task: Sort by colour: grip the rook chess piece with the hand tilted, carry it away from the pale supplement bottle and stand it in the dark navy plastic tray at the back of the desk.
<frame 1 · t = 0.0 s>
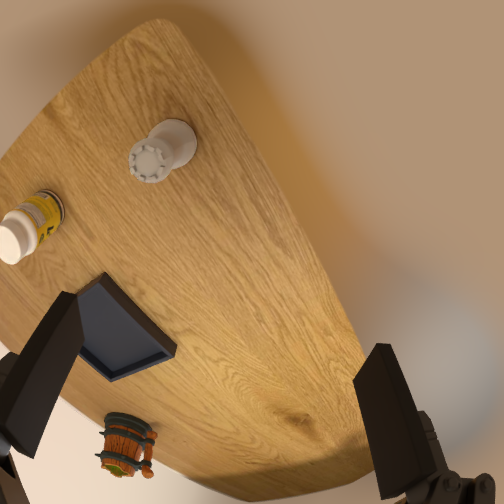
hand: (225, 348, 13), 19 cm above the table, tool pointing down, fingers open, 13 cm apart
rook chess piece: (173, 142, 27), on the table
dark tray: (109, 329, 38), on the table
supplement bottle: (49, 208, 29), on the table
mug: (134, 424, 50), on the table
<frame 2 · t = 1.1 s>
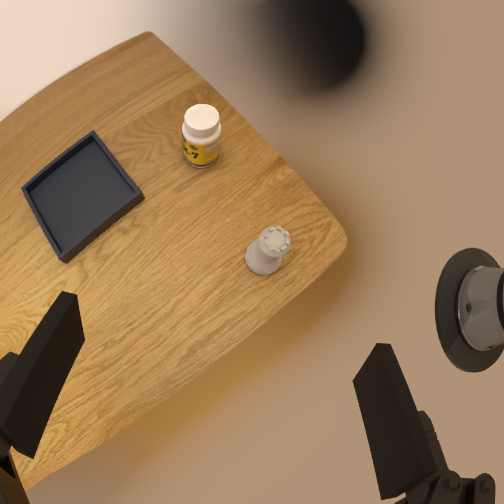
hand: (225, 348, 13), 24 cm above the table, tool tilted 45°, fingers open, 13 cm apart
rook chess piece: (262, 258, 39), on the table
dark tray: (80, 195, 37), on the table
supplement bottle: (201, 154, 41), on the table
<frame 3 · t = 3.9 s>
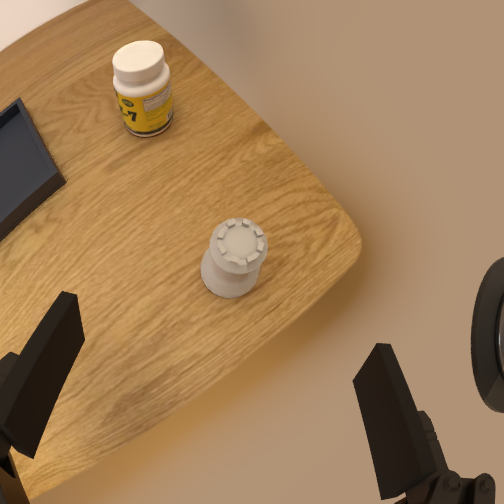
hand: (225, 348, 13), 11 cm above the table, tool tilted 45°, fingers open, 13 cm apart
rook chess piece: (229, 270, 25), on the table
supplement bottle: (149, 120, 27), on the table
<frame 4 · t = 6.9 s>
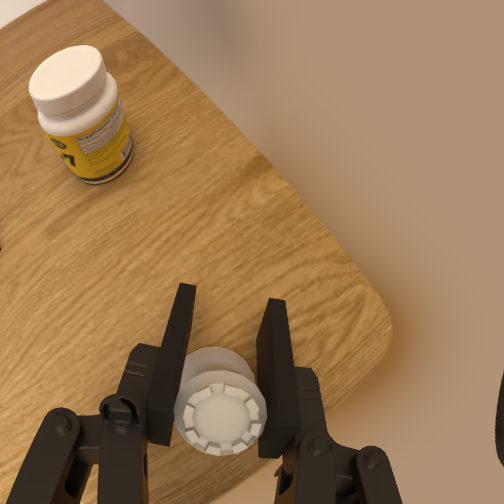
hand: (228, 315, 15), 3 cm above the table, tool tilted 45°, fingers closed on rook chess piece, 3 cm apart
rook chess piece: (214, 383, 17), on the table, touching gripper
supplement bottle: (102, 156, 19), on the table
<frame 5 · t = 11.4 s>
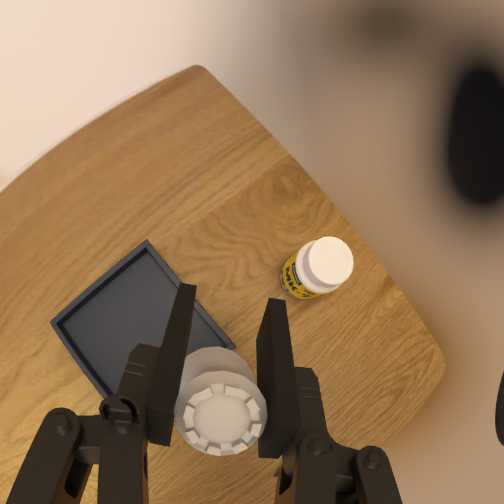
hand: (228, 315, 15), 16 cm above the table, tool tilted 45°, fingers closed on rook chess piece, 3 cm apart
rook chess piece: (214, 384, 17), point 13 cm above the table, touching gripper
dark tray: (140, 336, 29), on the table
supplement bottle: (300, 278, 33), on the table
when the fingers open (4 cm above the table, at t = 15.9 s): rook chess piece stays where it is, resting on dark tray.
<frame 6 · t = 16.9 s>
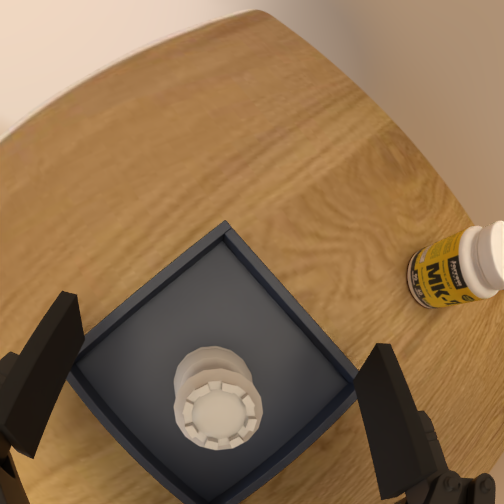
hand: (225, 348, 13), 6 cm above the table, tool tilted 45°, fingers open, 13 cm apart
rook chess piece: (212, 382, 17), resting on dark tray
dark tray: (212, 380, 18), on the table
supplement bottle: (427, 279, 22), on the table
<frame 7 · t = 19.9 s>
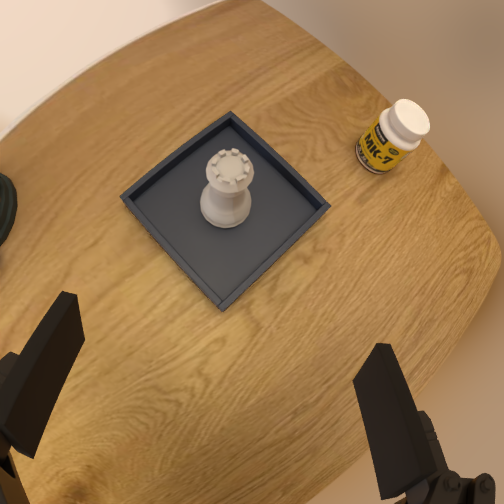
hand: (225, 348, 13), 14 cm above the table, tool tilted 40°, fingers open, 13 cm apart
rook chess piece: (225, 206, 28), resting on dark tray
dark tray: (225, 207, 29), on the table
supplement bottle: (373, 156, 32), on the table
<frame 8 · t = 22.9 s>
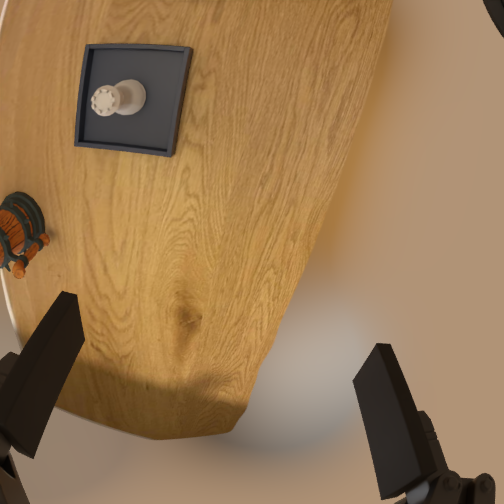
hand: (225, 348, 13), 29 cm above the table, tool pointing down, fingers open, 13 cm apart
rook chess piece: (130, 96, 32), resting on dark tray
dark tray: (131, 96, 33), on the table
mug: (29, 222, 41), on the table
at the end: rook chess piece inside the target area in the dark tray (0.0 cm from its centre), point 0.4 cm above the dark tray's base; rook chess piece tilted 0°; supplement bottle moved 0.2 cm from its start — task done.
